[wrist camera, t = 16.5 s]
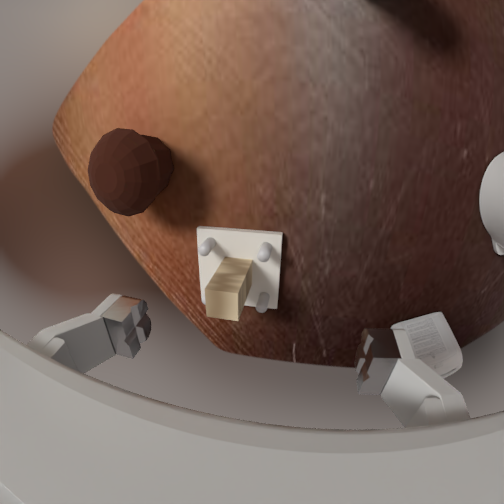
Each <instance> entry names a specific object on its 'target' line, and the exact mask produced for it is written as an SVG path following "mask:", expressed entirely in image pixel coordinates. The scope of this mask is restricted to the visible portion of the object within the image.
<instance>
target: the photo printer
mask: <svg viewBox="0 0 504 504" xmlns="http://www.w3.org/2000/svg"><path fill="white" fill-rule="evenodd" d="M391 329H404V330H405V331H406V333H407V336H408V339H409V341H410V344H411V347H412V350H413V352H414V355H415V358H416V359H420V360H421V361H423V362H424V363H425V364H426V365H428V366H429V367H430V368H431V369H432V370H434V371H435V372H436V373H437V374H439V375H440V376H441V377H442V378H446V377H447V376H450V375H451V374H453V373H455V372H456V371H457V370H459V369H460V368H461V367H462V363H463V357H462V352H461V349H460V347H459V345H458V343H457V341H456V339H455V337H454V335H453V333H452V331H451V329H450V327H449V325H448V323H447V321H446V319H445V317H444V316H443V314H442V312H435V313H431V314H427V315H424V316H420V317H417V318H413V319H410V320H406V321H403V322H399V323H396V324H394V325H392V327H391Z"/></svg>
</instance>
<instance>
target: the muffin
mask: <svg viewBox="0 0 504 504" xmlns="http://www.w3.org/2000/svg"><path fill="white" fill-rule="evenodd" d="M173 170H174V167H173V163H172V160H171V152H170V149H168V148H167V147H166V146H165V145H163V144H162V142H161V141H160V140H159V139H158V138H156V137H151V136H146V135H140V134H138V133H137V132H135V131H134V130H130V129H120V128H117V129H115V130H113V131H111V132H109V133H107V134H105V135H103V136H102V138H101V139H100V140H99V142H98V143H97V145H96V146H95V148H94V149H93V151H92V152H91V155H90V161H89V166H88V174H89V181H90V186H91V188H92V190H93V192H94V193H95V195H96V197H97V199H98V200H99V201H100V202H102V203H103V204H104V205H105V206H106V207H107V208H108V209H109V210H111V211H112V212H114V213H118V214H121V215H125V216H132V215H135V214H139V213H142V212H144V211H145V210H146V208H147V207H148V206H149V205H150V204H151V203H152V202H153V201H154V200H155V197H156V196H157V195H158V194H159V193H160V192H161V191H162V190H163V189H164V188H165V187H167V186H168V182H169V179H170V176H171V174H172V172H173Z"/></svg>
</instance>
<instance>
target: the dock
mask: <svg viewBox="0 0 504 504" xmlns="http://www.w3.org/2000/svg"><path fill="white" fill-rule="evenodd" d="M282 235H283V232H271V231H259V230H247V229H234V228H221V227H207V226H199V227H197V243H198V258H199V272H200V285H201V297H202V302H203V304H205V305H206V302H205V288H206V286H207V284H208V283H209V281H210V280H211V278H212V276H213V275H214V273H215V272H216V270H217V269H218V267H219V265H220V264H221V262H222V261H223V259H224V258H225V257H231V258H241V259H251V260H252V285H251V288H250V291H249V293H248V296H247V299H246V301H245V304H244V305H246V306H254V307H256V310H257V311H258V312H260V313H264V312H265V311H266V310H267V308H271V309H277V306H278V294H279V280H280V266H281V251H282Z"/></svg>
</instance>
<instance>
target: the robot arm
mask: <svg viewBox="0 0 504 504" xmlns="http://www.w3.org/2000/svg"><path fill="white" fill-rule="evenodd" d="M479 203H480V213H481V218H482V221H483V224H484V226H485V228H486V230H487V231H488V233H489V234H490V236H491V238H492V243H493V248H494V251H495V252H496V253H497V254H499V255H504V152H502V153H501V154H499V155H498V156H496V157H495V158H494V159H493V160H492V162H491V163H490V164H489V166H488V168H487V170H486V172H485V174H484V177H483V180H482V184H481V189H480V199H479ZM147 310H148V307H147V303H146V302H145V301H144V300H141V299H137V298H132V297H127V296H123V295H119V294H111V295H110V296H108V297H107V298H106V299H105V300H104V301H103V302H102V303H101V304H100V305H99V306H98V307H97V308H96V309H95V310H94V311H93V312H92V313H91V314H89V313H87V314H84V315H81V316H79V317H76V318H73V319H70V320H68V321H65V322H62V323H59V324H57V325H54V326H51V327H48V328H45V329H43V330H41V331H40V332H39V333H38V334H37V335H36V336H35V337H34V338H33V339H32V340H31V341H30V342H29V343H28V344H27V345H25V344H23V343H22V342H19V341H18V340H16V339H15V338H13V337H11V336H10V335H8V334H7V333H5V332H3V331H2V330H0V504H504V411H501V412H497V413H494V414H489V415H485V416H481V417H476V418H472V419H470V416H469V413H468V410H467V407H466V404H465V401H464V398H463V396H462V394H461V393H460V392H459V391H458V390H457V389H455V388H454V387H453V386H452V385H450V384H449V383H448V382H447V381H446V380H445V379H443V378H442V377H441V376H440V375H439V374H437V373H436V372H435V371H434V370H432V369H431V368H430V367H429V366H428V365H426V364H425V363H424V362H423V361H421V360H420V359H416V358H415V355H414V352H413V350H412V347H411V344H410V341H409V339H408V336H407V333H406V331H405V330H404V329H378V328H365V329H364V330H363V333H362V336H361V338H362V344H360V345H359V346H358V349H357V352H356V358H355V369H356V371H357V373H358V374H359V375H358V378H357V388H358V394H372V395H374V394H375V395H380V396H381V397H382V399H383V400H384V401H385V403H386V404H387V405H388V407H389V408H390V409H391V410H392V412H393V413H394V414H395V415H396V417H397V418H398V419H399V421H400V422H401V423H402V425H403V426H404V427H405V428H396V429H371V430H339V429H316V428H301V427H290V426H281V425H272V424H265V423H258V422H251V421H245V420H239V419H233V418H227V417H222V416H217V415H213V414H208V413H204V412H199V411H195V410H191V409H187V408H183V407H179V406H176V405H172V404H168V403H164V402H161V401H158V400H154V399H151V398H148V397H145V396H142V395H139V394H136V393H133V392H130V391H127V390H124V389H121V388H119V387H116V386H113V385H111V384H108V383H105V382H103V381H100V380H98V379H95V378H93V377H91V376H88V375H86V374H84V373H86V372H87V371H89V370H91V369H92V368H94V367H96V366H97V365H99V364H101V363H103V362H104V361H106V360H108V359H109V358H111V357H113V356H115V354H118V355H121V356H125V357H128V358H132V359H133V358H134V357H135V355H136V354H137V352H138V351H139V350H140V348H141V346H140V343H142V342H144V341H146V340H147V338H148V337H149V334H150V331H151V321H150V318H149V317H148V316H147V314H146V312H147Z"/></svg>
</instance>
